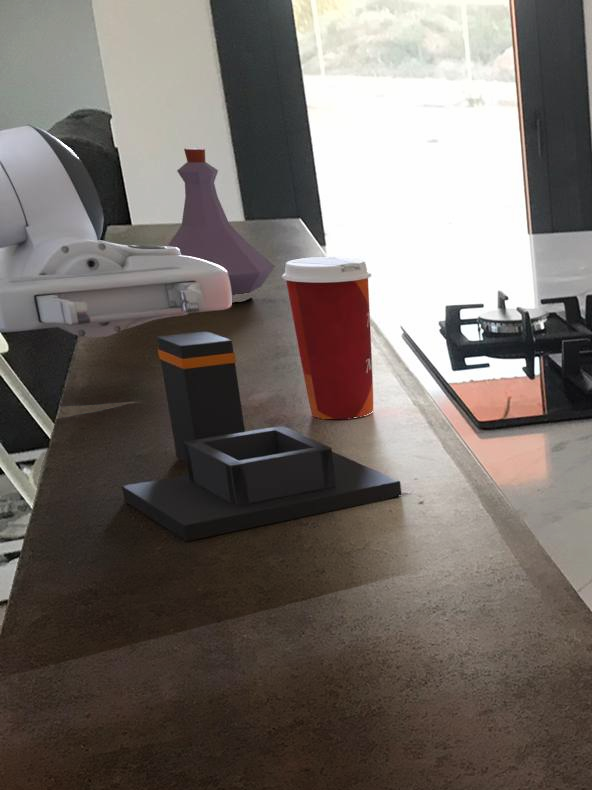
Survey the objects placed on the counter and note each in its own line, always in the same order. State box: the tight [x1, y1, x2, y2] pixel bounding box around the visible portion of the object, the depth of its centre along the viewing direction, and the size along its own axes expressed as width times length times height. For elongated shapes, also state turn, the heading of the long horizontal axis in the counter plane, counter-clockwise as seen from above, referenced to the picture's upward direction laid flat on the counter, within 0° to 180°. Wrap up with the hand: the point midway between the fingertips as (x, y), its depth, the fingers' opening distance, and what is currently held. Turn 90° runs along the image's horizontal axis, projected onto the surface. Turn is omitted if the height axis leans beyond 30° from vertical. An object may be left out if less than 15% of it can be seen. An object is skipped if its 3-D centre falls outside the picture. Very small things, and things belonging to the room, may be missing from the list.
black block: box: [156, 331, 246, 464], centre depth 104 cm, size 4×5×10 cm
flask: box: [167, 147, 276, 295], centre depth 176 cm, size 16×16×20 cm
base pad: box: [121, 425, 402, 542], centre depth 96 cm, size 16×12×4 cm
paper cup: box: [281, 256, 374, 420], centre depth 119 cm, size 8×8×14 cm
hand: (139, 307), depth 110 cm, fingers open, 8 cm apart
